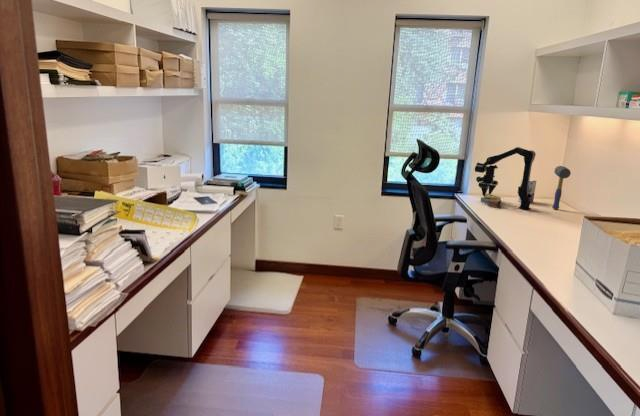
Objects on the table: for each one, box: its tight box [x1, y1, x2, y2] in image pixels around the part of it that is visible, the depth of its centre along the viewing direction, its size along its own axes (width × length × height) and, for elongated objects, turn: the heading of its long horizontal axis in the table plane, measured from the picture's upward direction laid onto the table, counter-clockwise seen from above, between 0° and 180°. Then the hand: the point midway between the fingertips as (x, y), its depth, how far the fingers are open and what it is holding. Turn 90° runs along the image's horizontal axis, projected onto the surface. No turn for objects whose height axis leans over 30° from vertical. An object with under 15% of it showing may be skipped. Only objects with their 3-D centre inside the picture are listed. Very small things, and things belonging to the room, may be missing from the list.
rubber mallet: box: [552, 165, 572, 211], centre depth 297 cm, size 12×8×30 cm, turn 168°
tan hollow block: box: [487, 199, 503, 209], centre depth 301 cm, size 7×6×4 cm
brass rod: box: [483, 193, 502, 200], centre depth 310 cm, size 11×3×3 cm, turn 44°
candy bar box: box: [518, 179, 537, 204], centre depth 316 cm, size 11×5×16 cm, turn 119°
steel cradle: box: [480, 196, 502, 204], centre depth 312 cm, size 8×11×3 cm
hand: (486, 195), depth 313 cm, fingers open, 9 cm apart
